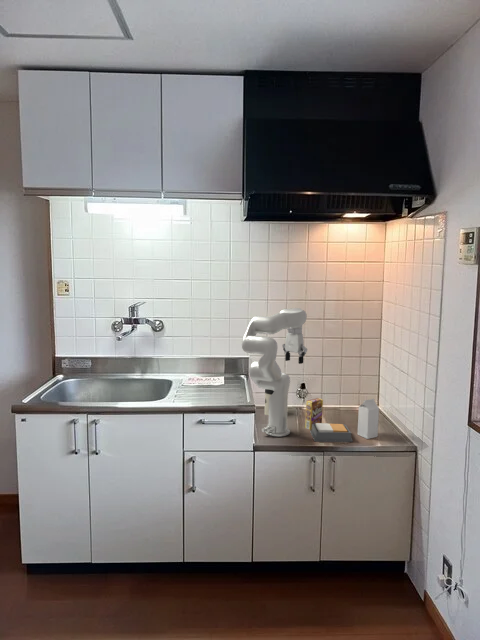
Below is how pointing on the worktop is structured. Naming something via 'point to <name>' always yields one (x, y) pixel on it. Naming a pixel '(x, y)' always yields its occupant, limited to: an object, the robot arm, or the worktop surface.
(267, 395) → the travel mug
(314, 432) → the breaker housing
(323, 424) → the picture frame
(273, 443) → the worktop surface
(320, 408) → the candy box
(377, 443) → the worktop surface
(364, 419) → the milk carton
